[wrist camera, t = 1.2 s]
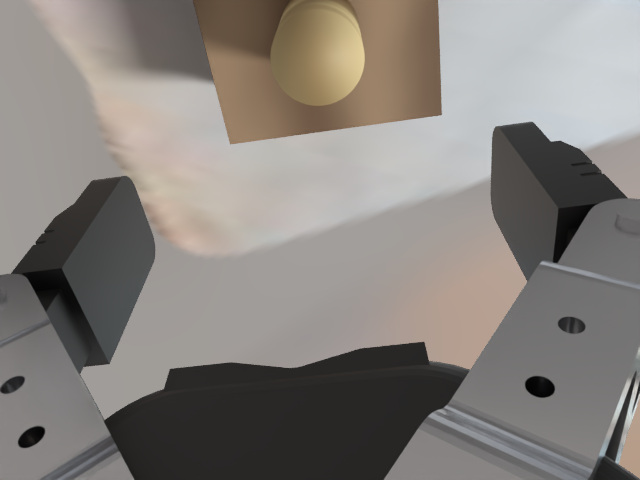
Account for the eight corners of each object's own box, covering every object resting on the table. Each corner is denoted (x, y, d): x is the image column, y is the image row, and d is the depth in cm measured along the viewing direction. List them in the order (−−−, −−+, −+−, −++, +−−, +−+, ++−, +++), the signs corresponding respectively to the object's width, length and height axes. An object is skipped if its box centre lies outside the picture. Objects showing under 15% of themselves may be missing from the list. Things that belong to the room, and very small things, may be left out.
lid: (426, -119, 24) (458, -117, 18) (434, 99, 29) (462, 157, 23) (185, -76, 25) (139, -61, 19) (236, 128, 30) (213, 190, 24)
